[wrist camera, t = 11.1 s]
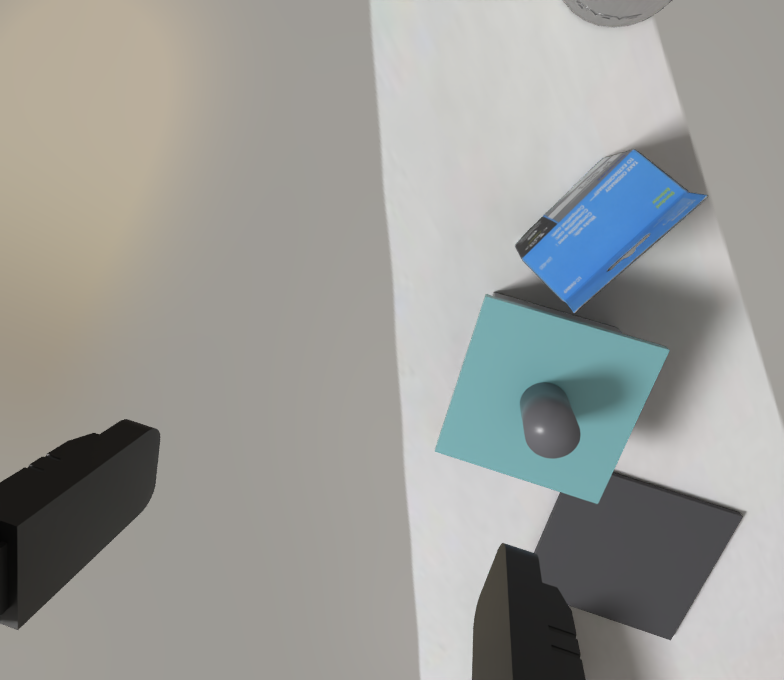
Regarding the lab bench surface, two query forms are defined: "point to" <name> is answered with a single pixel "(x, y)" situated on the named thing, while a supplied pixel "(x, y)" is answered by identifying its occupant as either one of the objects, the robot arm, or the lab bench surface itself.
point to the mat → (634, 552)
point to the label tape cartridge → (604, 225)
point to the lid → (548, 398)
